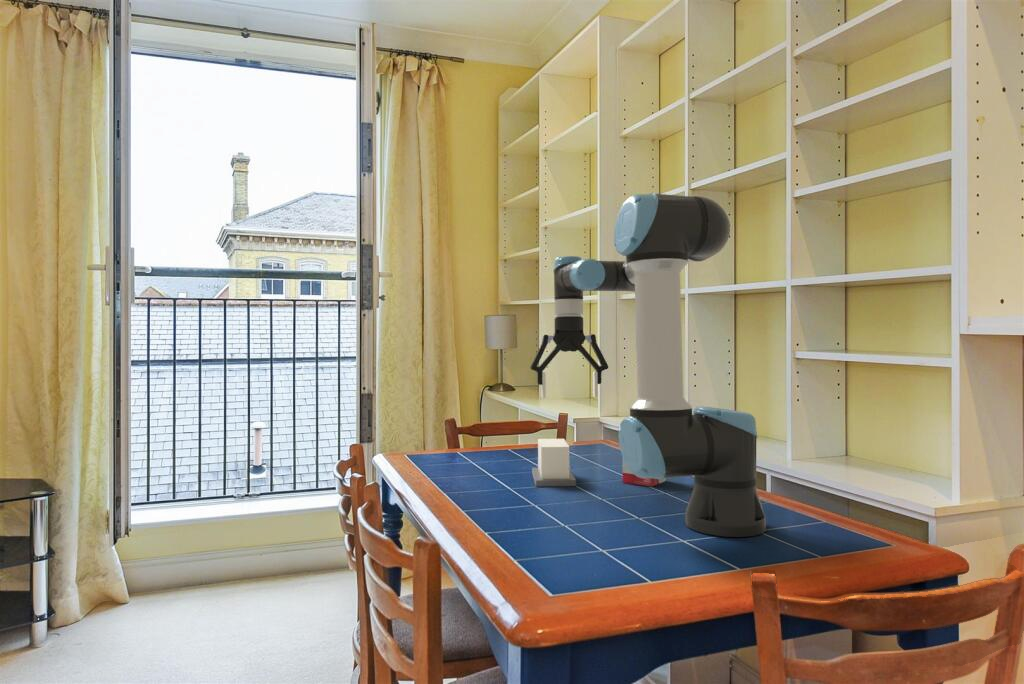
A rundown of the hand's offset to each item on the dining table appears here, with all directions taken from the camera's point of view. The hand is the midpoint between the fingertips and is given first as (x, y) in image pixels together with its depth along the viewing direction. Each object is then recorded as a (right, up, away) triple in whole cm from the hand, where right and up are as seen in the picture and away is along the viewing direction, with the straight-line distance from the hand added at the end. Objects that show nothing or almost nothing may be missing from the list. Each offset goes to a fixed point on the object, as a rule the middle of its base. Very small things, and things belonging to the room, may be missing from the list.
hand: (569, 397), depth 178 cm
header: (-4, -21, -1) cm, 22 cm away
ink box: (+19, -21, -5) cm, 29 cm away
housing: (-4, -20, -1) cm, 20 cm away
